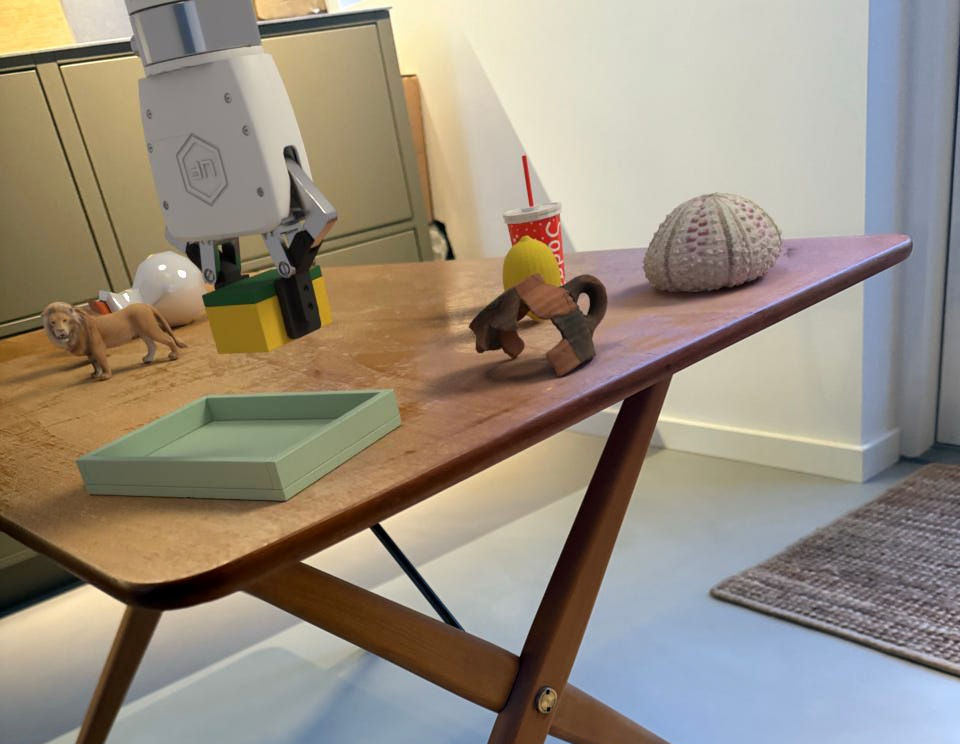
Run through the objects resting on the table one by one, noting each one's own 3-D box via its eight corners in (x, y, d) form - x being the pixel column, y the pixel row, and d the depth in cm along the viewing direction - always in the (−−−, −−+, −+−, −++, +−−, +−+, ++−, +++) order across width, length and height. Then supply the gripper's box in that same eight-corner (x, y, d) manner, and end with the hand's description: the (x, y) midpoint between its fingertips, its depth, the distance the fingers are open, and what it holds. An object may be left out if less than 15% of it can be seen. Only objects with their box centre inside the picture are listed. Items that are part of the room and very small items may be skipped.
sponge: (218, 354, 71) (200, 295, 69) (284, 324, 77) (270, 269, 75) (268, 352, 69) (252, 291, 67) (333, 322, 74) (320, 264, 72)
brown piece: (538, 395, 80) (476, 306, 79) (502, 424, 89) (447, 344, 88) (650, 315, 83) (592, 228, 82) (605, 351, 92) (552, 273, 91)
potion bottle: (225, 323, 141) (126, 368, 136) (187, 280, 144) (89, 322, 139) (217, 270, 133) (111, 316, 128) (177, 225, 136) (73, 268, 131)
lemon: (536, 313, 104) (523, 230, 100) (577, 314, 100) (566, 227, 96) (498, 329, 101) (484, 244, 97) (539, 330, 97) (526, 242, 93)
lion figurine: (73, 392, 113) (41, 309, 108) (61, 386, 117) (29, 306, 112) (197, 353, 119) (171, 273, 115) (180, 349, 123) (155, 271, 119)
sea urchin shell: (736, 299, 93) (730, 206, 89) (617, 300, 102) (607, 214, 99) (809, 263, 101) (806, 175, 97) (691, 266, 110) (685, 186, 106)
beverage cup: (537, 307, 106) (514, 161, 100) (506, 303, 111) (482, 163, 105) (585, 292, 109) (566, 147, 102) (553, 288, 113) (533, 150, 107)
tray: (88, 494, 78) (74, 459, 77) (215, 426, 89) (205, 395, 87) (286, 501, 68) (274, 461, 67) (402, 424, 79) (394, 388, 77)
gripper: (62, 69, 65) (153, 354, 74) (265, 18, 57) (341, 346, 66) (146, 58, 71) (222, 325, 80) (342, 11, 62) (403, 315, 71)
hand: (275, 332), depth 73 cm, fingers closed on sponge, 4 cm apart
